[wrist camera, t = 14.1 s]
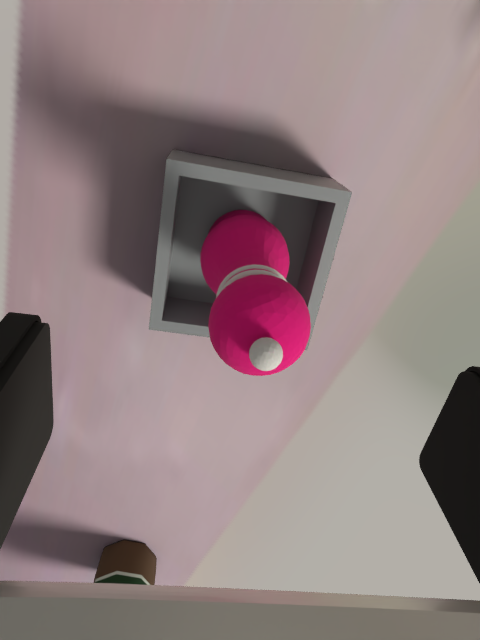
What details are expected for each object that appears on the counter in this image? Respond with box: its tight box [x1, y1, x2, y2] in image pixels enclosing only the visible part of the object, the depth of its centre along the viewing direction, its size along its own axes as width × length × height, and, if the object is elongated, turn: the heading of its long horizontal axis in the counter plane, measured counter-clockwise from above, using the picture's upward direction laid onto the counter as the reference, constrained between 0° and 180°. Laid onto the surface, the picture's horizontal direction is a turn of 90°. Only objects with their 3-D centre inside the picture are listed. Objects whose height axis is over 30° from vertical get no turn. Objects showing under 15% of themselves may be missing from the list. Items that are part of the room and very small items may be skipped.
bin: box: [149, 149, 352, 350], centre depth 39 cm, size 14×14×6 cm
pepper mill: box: [200, 210, 311, 376], centre depth 32 cm, size 7×7×20 cm
